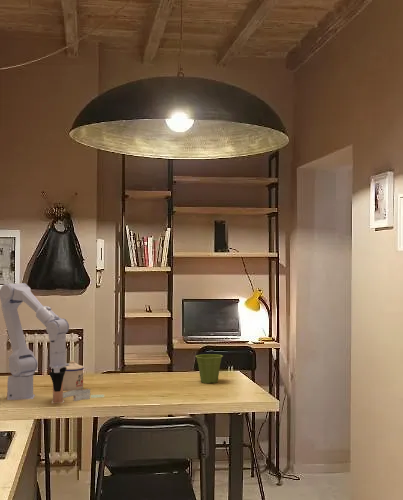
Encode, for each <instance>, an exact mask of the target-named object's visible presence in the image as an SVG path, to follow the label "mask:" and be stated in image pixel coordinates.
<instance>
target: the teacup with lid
mask: <svg viewBox="0 0 403 500" xmlns="http://www.w3.org/2000/svg"><path fill="white" fill-rule="evenodd" d="M66 367H67V369H66V371H65V374H64V377H63V392H67V391H71V390H84V365H80V364H78V363H77V362H76V361H75V359H74V360H69V366H66Z"/></svg>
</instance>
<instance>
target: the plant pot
mask: <svg viewBox="0 0 403 500" xmlns="http://www.w3.org/2000/svg"><path fill="white" fill-rule="evenodd" d="M223 357H224V355H222V354H213V353H212V354H211V353H208V354H207V353H206V354H205V353H204V354H197V355H195V358H196V362H197V367H198V370H199V373H198V374H199V379H200V382H201V383H202V384H211V383H213V384H216V383H218V382H219V377H220V376H219V375H220V368H221V363H222V358H223Z"/></svg>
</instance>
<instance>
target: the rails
mask: <svg viewBox="0 0 403 500" xmlns="http://www.w3.org/2000/svg"><path fill="white" fill-rule="evenodd" d="M68 397H73V398H72V399H73V401H74V402H78V401H82V400H90V399H91V389H82V390H71V391H63V399H64V398H68Z"/></svg>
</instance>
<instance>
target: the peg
mask: <svg viewBox="0 0 403 500" xmlns="http://www.w3.org/2000/svg"><path fill="white" fill-rule="evenodd" d="M63 392H64V391H63V382H62V386H61V390H60V391H57V392H55V391H54V388H53V387H52V401H53V402H54V403H53V404H60V403H59V402H63V400H64V398H63Z"/></svg>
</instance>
